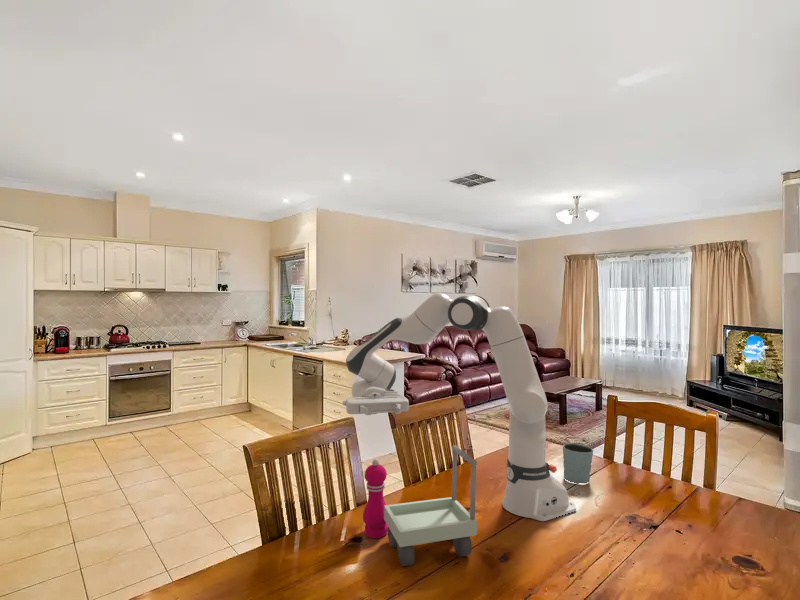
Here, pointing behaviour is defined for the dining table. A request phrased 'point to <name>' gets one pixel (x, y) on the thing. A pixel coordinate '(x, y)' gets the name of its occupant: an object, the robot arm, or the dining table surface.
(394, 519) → the serving trolley
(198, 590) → the dining table surface
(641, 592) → the dining table surface
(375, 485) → the pepper mill
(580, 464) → the grey cup
